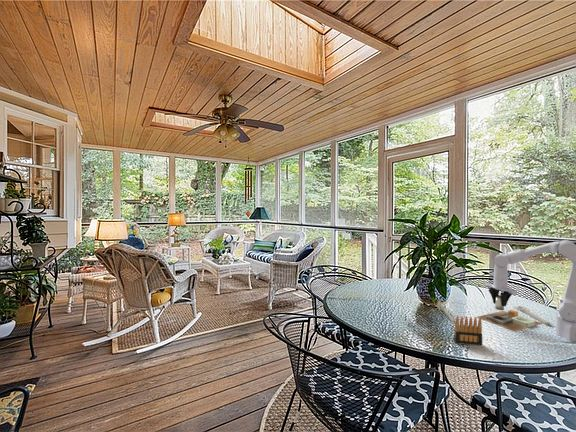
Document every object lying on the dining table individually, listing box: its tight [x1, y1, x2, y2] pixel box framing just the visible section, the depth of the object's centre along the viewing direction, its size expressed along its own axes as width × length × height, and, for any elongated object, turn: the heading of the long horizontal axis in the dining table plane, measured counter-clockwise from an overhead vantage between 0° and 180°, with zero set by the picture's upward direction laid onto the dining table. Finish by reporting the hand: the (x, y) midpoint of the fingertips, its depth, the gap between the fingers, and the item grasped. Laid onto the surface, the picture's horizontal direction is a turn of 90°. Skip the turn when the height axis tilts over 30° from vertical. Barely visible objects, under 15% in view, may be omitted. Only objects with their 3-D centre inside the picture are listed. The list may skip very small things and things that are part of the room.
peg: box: [494, 294, 505, 311], centre depth 146 cm, size 4×4×7 cm
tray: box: [511, 315, 536, 328], centre depth 144 cm, size 7×7×2 cm
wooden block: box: [500, 309, 519, 320], centre depth 150 cm, size 3×10×3 cm, turn 113°
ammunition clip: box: [453, 315, 483, 346], centre depth 126 cm, size 11×2×12 cm, turn 77°
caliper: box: [437, 299, 456, 325], centre depth 156 cm, size 20×1×6 cm, turn 174°
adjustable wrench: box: [513, 305, 553, 327], centre depth 156 cm, size 25×6×2 cm, turn 168°
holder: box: [476, 310, 544, 333], centre depth 148 cm, size 18×23×3 cm
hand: (499, 304), depth 146 cm, fingers closed on peg, 4 cm apart
